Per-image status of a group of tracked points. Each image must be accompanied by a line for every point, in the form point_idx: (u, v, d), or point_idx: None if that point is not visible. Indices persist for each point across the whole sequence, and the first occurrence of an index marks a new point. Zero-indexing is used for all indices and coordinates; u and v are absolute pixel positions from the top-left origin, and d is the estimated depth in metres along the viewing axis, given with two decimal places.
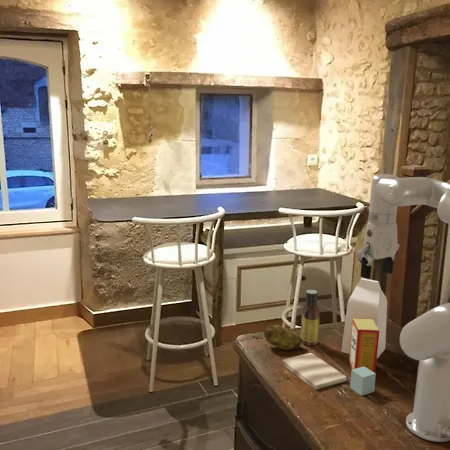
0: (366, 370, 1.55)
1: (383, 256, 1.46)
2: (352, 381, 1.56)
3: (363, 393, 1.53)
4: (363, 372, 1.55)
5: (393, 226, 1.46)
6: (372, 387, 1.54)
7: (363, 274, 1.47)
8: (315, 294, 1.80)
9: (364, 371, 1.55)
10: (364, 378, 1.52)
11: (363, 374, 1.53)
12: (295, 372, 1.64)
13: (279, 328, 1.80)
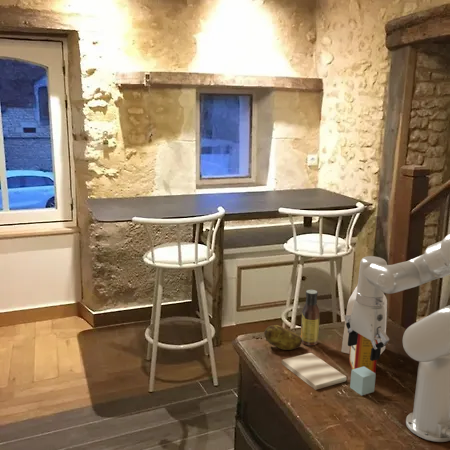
0: (366, 370, 1.55)
1: None
2: (352, 381, 1.56)
3: (363, 393, 1.53)
4: (363, 372, 1.55)
5: None
6: (372, 387, 1.54)
7: (377, 357, 1.49)
8: (315, 294, 1.80)
9: (364, 371, 1.55)
10: (364, 378, 1.52)
11: (363, 374, 1.53)
12: (295, 372, 1.64)
13: (279, 328, 1.80)
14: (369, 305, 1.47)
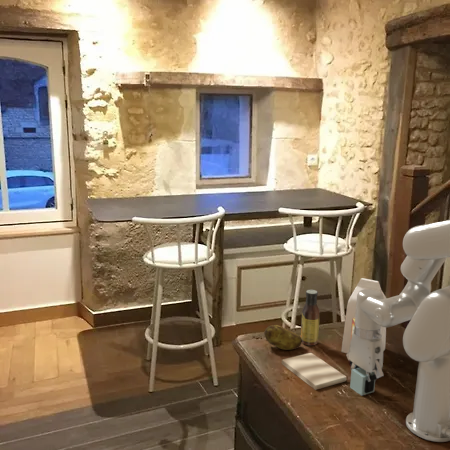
0: None
1: None
2: (352, 381, 1.56)
3: (363, 393, 1.53)
4: (363, 371, 1.55)
5: None
6: None
7: (371, 389, 1.52)
8: (315, 294, 1.80)
9: (364, 370, 1.55)
10: (364, 378, 1.52)
11: (363, 374, 1.53)
12: (295, 372, 1.64)
13: (279, 328, 1.80)
14: (367, 338, 1.49)
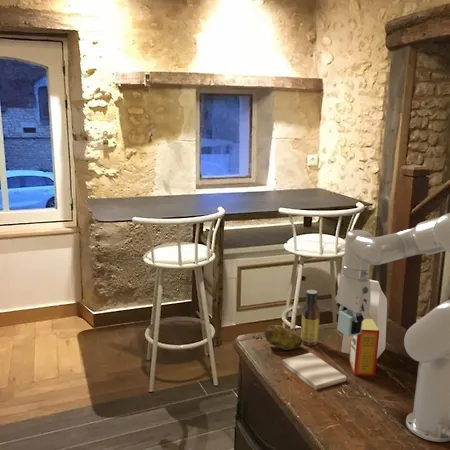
0: None
1: None
2: (339, 323, 1.55)
3: (350, 334, 1.53)
4: (351, 313, 1.54)
5: None
6: None
7: (358, 330, 1.52)
8: (315, 294, 1.80)
9: (351, 312, 1.55)
10: (351, 319, 1.51)
11: (350, 315, 1.52)
12: (295, 372, 1.64)
13: (279, 328, 1.80)
14: (355, 278, 1.48)
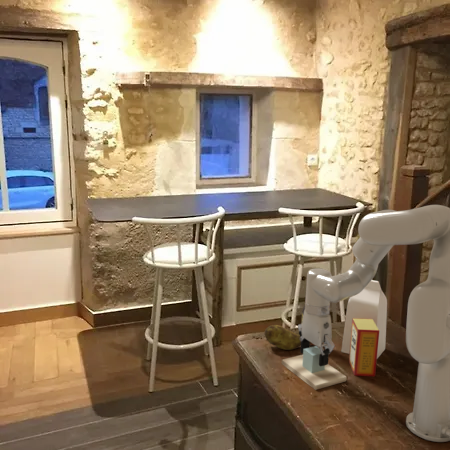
0: (317, 349, 1.65)
1: None
2: (304, 360, 1.65)
3: (313, 371, 1.62)
4: (314, 351, 1.64)
5: None
6: None
7: (325, 362, 1.59)
8: None
9: (315, 350, 1.64)
10: (313, 356, 1.61)
11: (313, 353, 1.62)
12: (295, 372, 1.64)
13: (279, 328, 1.80)
14: (316, 314, 1.58)
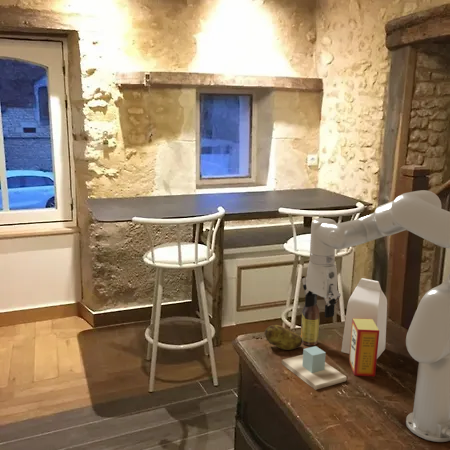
0: (317, 349, 1.65)
1: None
2: (304, 360, 1.65)
3: (313, 371, 1.62)
4: (314, 351, 1.64)
5: None
6: (322, 365, 1.64)
7: (331, 314, 1.56)
8: (315, 294, 1.80)
9: (315, 350, 1.64)
10: (313, 356, 1.61)
11: (313, 353, 1.62)
12: (295, 372, 1.64)
13: (279, 328, 1.81)
14: (321, 263, 1.54)
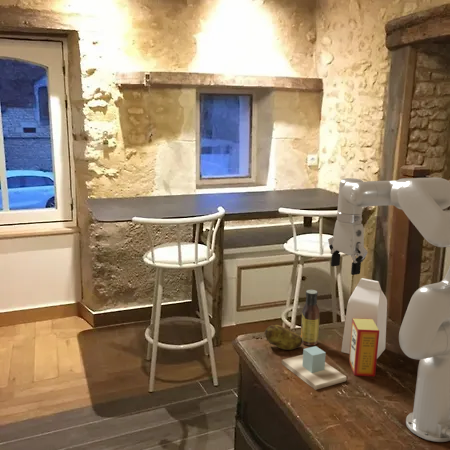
0: (317, 349, 1.65)
1: None
2: (304, 360, 1.65)
3: (313, 371, 1.62)
4: (314, 351, 1.64)
5: None
6: (322, 365, 1.64)
7: (358, 271, 1.61)
8: (315, 294, 1.80)
9: (315, 350, 1.64)
10: (313, 356, 1.61)
11: (313, 353, 1.62)
12: (295, 372, 1.64)
13: (280, 328, 1.81)
14: (348, 222, 1.59)
